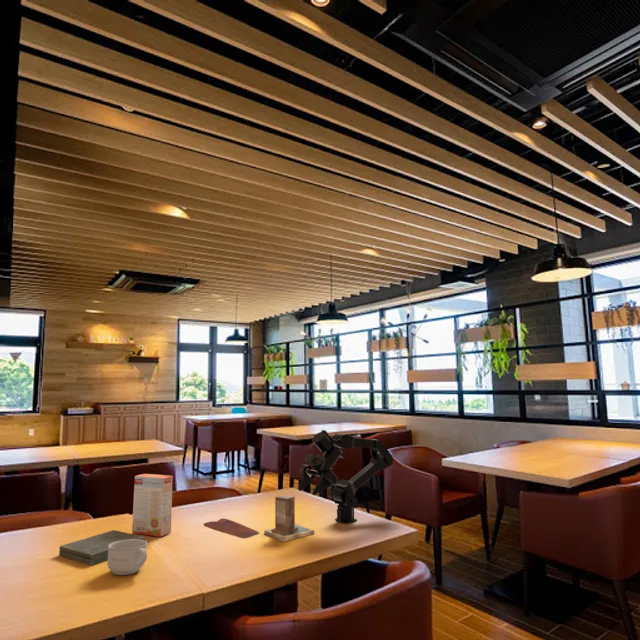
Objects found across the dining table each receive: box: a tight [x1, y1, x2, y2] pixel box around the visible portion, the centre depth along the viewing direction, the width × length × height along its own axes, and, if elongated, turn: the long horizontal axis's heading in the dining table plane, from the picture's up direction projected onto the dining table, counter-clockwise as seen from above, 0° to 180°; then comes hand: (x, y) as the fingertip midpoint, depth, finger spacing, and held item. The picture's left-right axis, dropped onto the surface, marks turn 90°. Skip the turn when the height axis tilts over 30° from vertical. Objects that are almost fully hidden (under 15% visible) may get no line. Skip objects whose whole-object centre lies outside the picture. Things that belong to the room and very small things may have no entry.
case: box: [58, 529, 146, 566], centre depth 156 cm, size 18×4×20 cm
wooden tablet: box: [203, 518, 260, 539], centre depth 179 cm, size 27×10×2 cm, turn 45°
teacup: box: [107, 539, 148, 576], centre depth 137 cm, size 14×11×8 cm
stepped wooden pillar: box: [271, 494, 298, 535], centre depth 172 cm, size 7×7×12 cm
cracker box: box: [131, 473, 174, 538], centre depth 176 cm, size 14×6×21 cm, turn 65°
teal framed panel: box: [263, 522, 315, 543], centre depth 172 cm, size 14×12×1 cm
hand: (306, 492), depth 178 cm, fingers open, 9 cm apart
